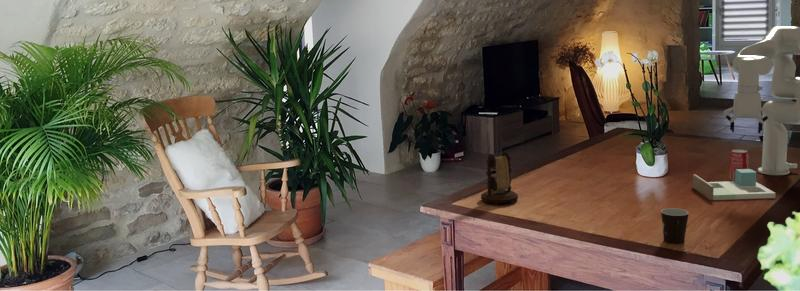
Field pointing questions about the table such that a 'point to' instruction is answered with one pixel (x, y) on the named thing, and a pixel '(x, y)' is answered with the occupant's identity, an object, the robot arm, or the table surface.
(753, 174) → the block
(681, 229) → the coffee mug
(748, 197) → the tray
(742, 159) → the soda can
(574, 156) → the table surface
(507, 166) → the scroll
